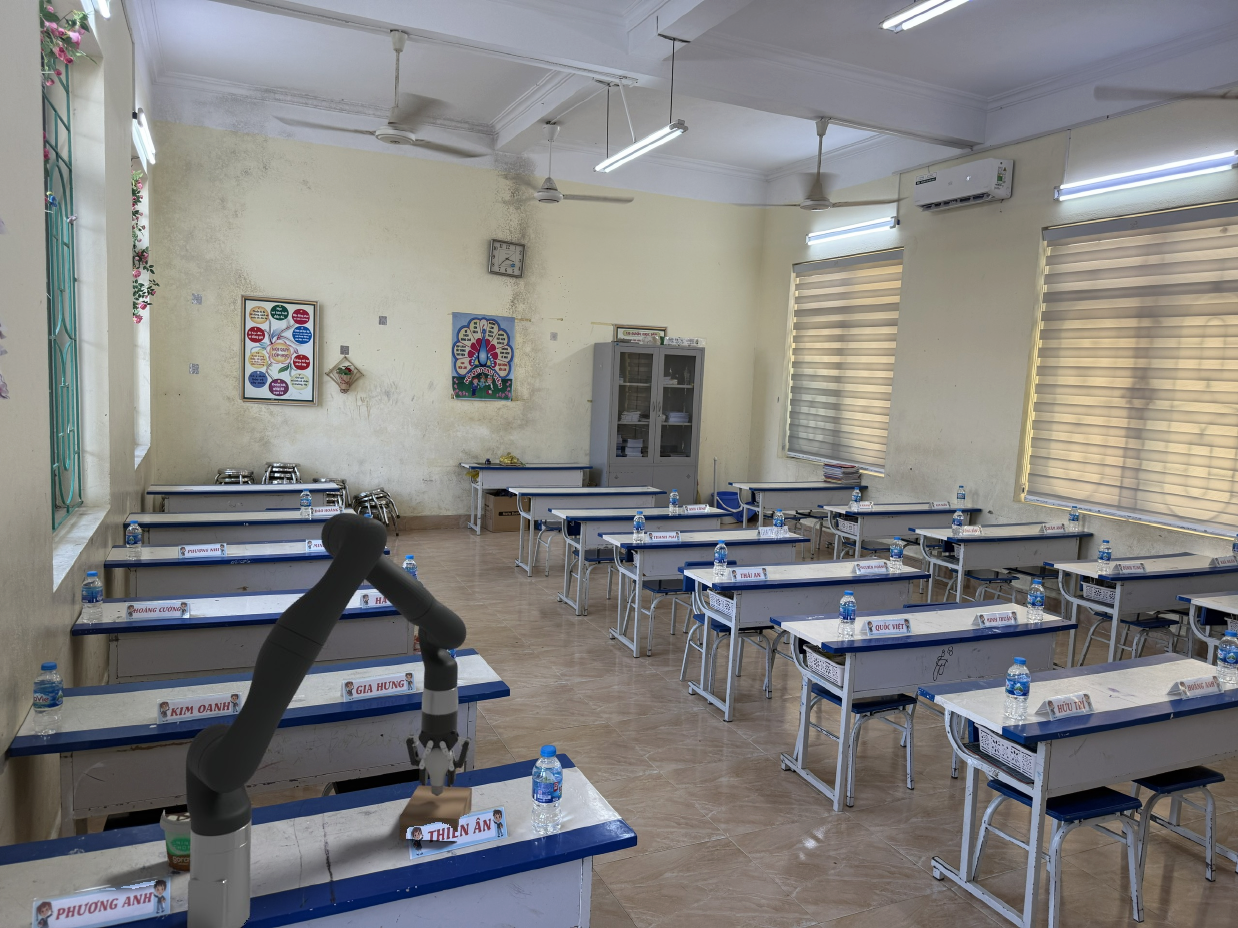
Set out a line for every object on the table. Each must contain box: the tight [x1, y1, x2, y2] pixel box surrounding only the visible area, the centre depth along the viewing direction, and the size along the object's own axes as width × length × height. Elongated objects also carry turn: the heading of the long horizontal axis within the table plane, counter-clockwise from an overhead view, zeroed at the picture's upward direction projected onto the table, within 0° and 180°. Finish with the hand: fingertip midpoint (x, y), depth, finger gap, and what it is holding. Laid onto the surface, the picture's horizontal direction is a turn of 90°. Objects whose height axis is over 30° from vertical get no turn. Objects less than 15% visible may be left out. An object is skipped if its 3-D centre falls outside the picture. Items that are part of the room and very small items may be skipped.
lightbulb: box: [424, 748, 453, 796], centre depth 169 cm, size 6×6×11 cm
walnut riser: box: [398, 784, 473, 841], centre depth 169 cm, size 14×12×5 cm
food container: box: [159, 809, 191, 873], centre depth 150 cm, size 12×6×10 cm, turn 105°
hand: (437, 784), depth 169 cm, fingers closed on lightbulb, 5 cm apart
